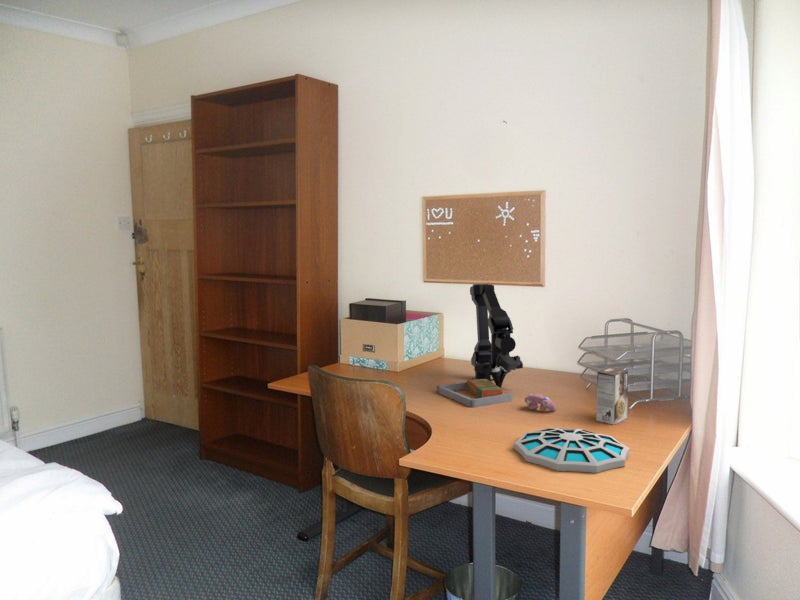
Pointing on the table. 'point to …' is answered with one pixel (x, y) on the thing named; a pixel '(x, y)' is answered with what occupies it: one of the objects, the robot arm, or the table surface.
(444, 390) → the display frame
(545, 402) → the video game controller
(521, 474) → the table surface
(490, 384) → the carton
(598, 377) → the coffee box
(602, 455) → the decorative platform
